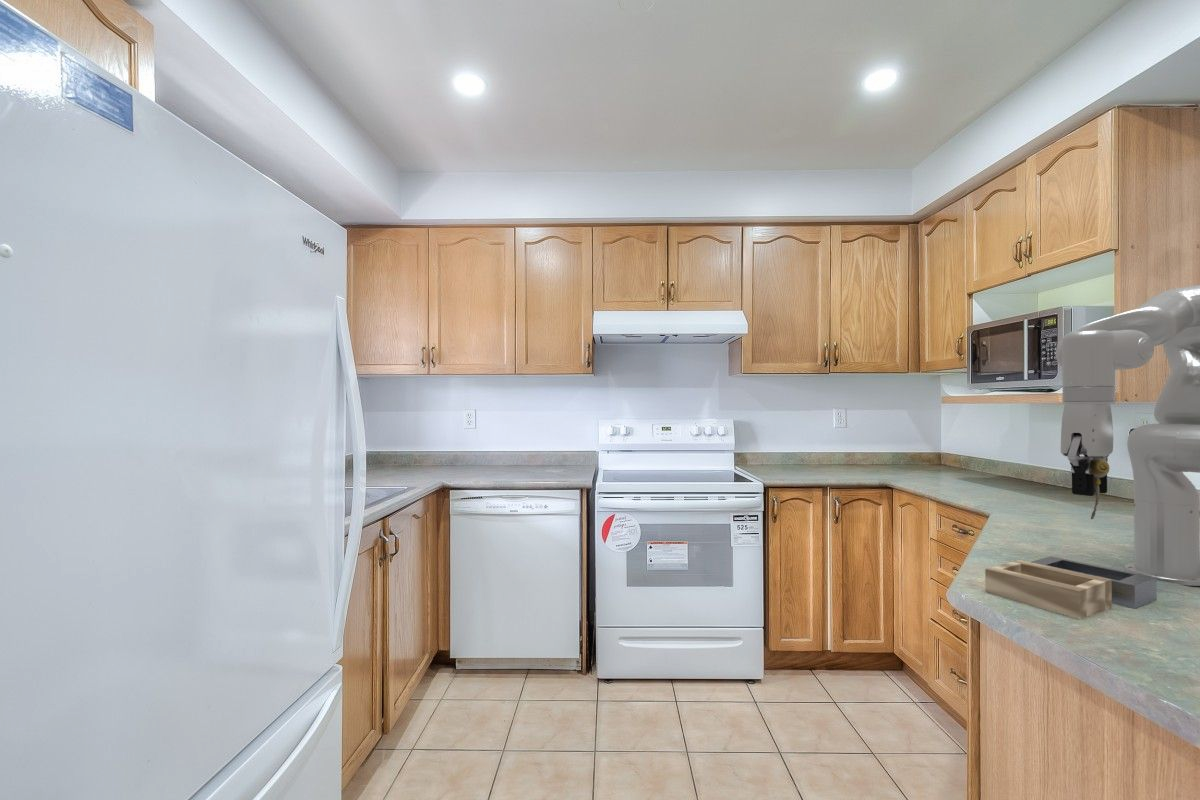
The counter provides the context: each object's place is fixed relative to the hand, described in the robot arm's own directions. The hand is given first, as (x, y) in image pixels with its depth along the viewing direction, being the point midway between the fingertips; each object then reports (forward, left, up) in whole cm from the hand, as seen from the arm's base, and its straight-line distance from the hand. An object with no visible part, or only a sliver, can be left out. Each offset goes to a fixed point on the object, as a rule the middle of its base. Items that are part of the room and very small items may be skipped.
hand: (1089, 492), depth 106 cm
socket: (+14, -1, -18) cm, 23 cm away
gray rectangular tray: (0, 0, -18) cm, 18 cm away
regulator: (0, 0, -5) cm, 5 cm away
